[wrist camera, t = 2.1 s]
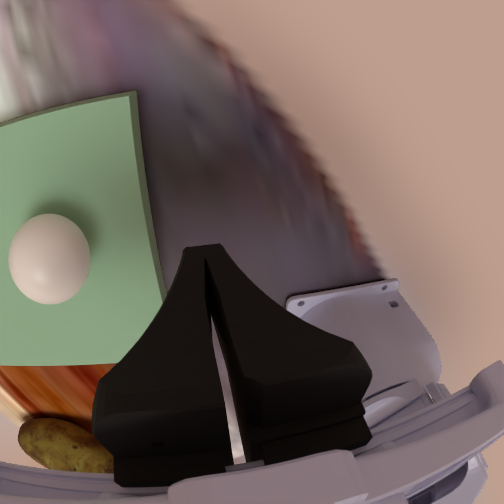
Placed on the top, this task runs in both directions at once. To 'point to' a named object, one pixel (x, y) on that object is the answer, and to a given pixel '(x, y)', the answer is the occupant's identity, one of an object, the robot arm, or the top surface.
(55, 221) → the ball
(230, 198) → the top surface
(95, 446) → the potato
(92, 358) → the putting mat
